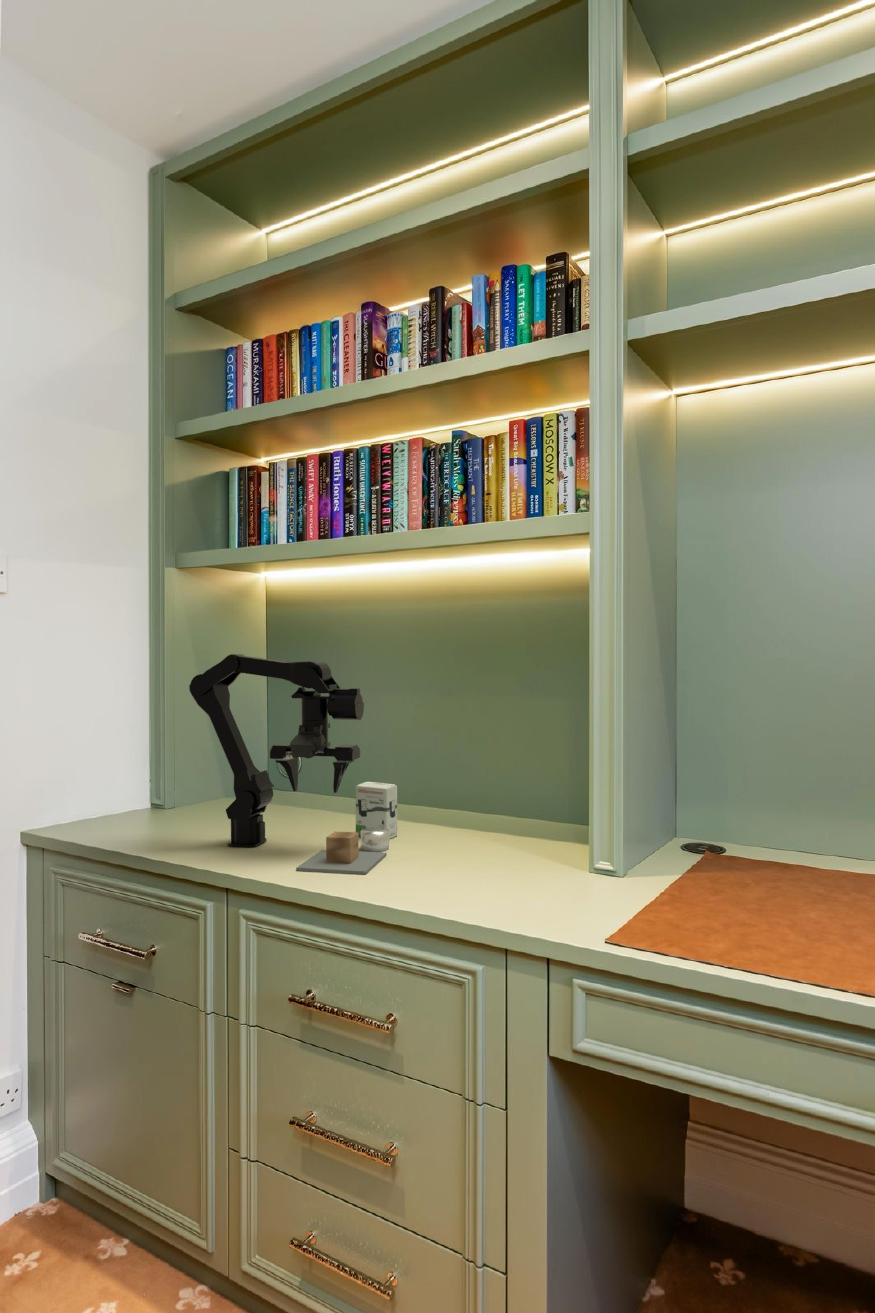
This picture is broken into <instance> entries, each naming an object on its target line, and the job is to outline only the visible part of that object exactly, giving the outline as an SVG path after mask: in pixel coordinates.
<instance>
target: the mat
mask: <svg viewBox="0 0 875 1313" xmlns="http://www.w3.org/2000/svg"><path fill="white" fill-rule="evenodd" d="M386 857H387V852H364V851H362V850H360V851H359V857H358V858H357V859H356V860H355V861H353V862H352V863H351V864H344V863H326V849H321V850H319V851H317V852H316V853H315V854H314V855H312V856H311V857H310V858H308V859H306V860H304V862H302V863H301V864H299V865H298V866H296V868H295V871H296V872H312V873H314V872H315V873H330V874H331V873H332V874H345V875H367V874H368V873H369V872H370V871H372V869H374V868H375V867H376V866H377V865H378V864H379V863H381V861H383V859H385V858H386Z"/></svg>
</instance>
